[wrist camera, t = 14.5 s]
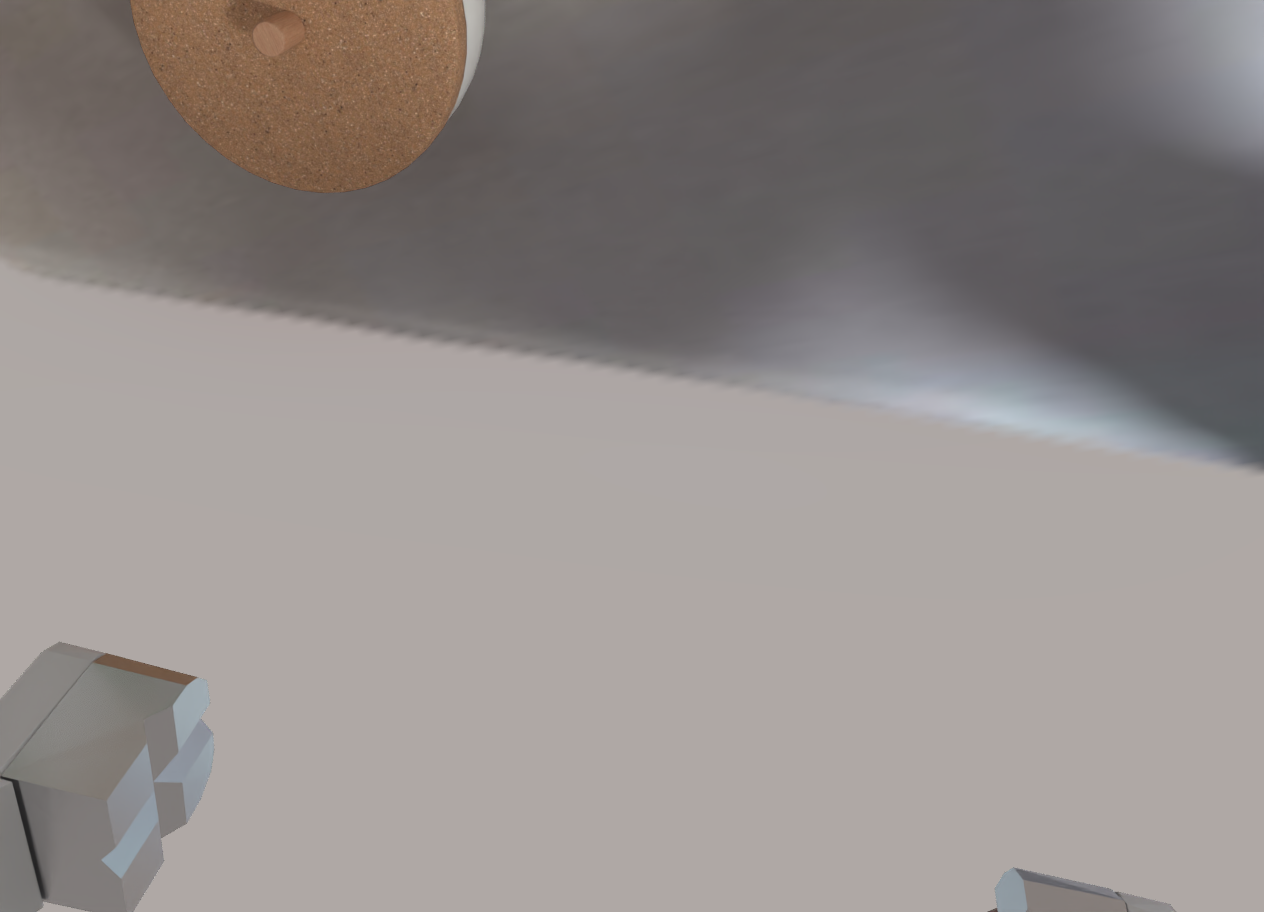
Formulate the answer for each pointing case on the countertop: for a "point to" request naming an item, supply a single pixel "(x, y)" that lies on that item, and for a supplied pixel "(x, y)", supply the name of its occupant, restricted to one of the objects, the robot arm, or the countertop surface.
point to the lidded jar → (314, 80)
